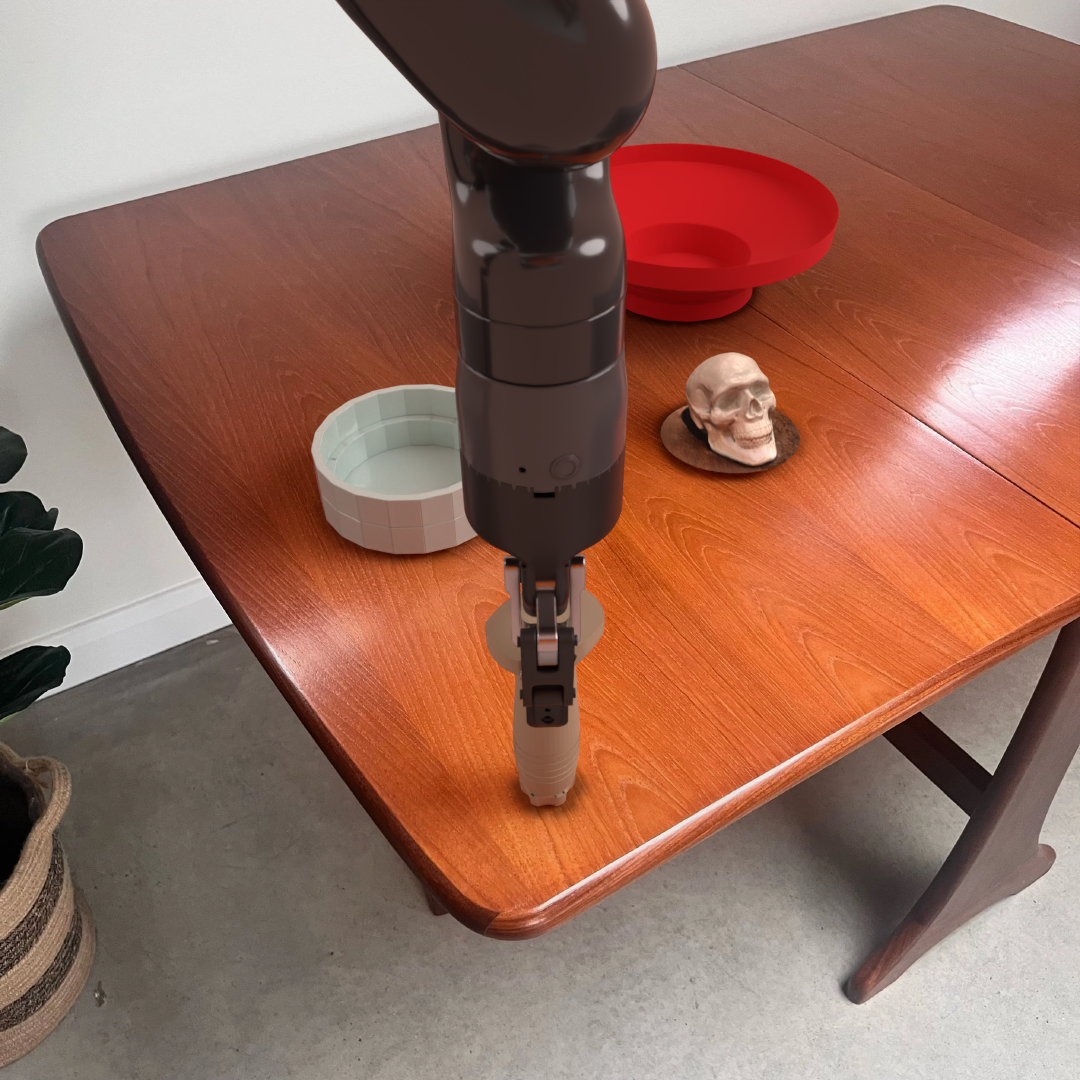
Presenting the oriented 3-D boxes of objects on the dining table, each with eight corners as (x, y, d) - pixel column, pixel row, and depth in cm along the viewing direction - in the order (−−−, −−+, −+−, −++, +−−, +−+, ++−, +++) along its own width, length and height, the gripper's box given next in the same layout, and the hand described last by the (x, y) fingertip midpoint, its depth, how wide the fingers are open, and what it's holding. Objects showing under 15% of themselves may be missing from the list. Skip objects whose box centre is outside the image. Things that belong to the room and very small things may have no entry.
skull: (837, 452, 88) (776, 393, 81) (743, 530, 91) (678, 479, 85) (774, 374, 96) (714, 315, 90) (690, 449, 100) (626, 396, 93)
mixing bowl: (311, 562, 80) (298, 502, 76) (335, 443, 92) (325, 386, 88) (510, 557, 81) (507, 497, 77) (510, 439, 92) (507, 382, 88)
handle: (483, 785, 65) (469, 616, 55) (568, 739, 68) (570, 571, 58) (524, 842, 62) (517, 675, 52) (612, 792, 64) (621, 623, 54)
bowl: (521, 352, 103) (519, 259, 96) (553, 219, 125) (553, 136, 119) (836, 368, 100) (855, 273, 93) (810, 229, 122) (825, 144, 116)
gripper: (463, 347, 52) (480, 589, 63) (451, 538, 41) (475, 789, 52) (613, 343, 52) (604, 586, 63) (641, 533, 41) (624, 785, 52)
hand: (545, 677), depth 58 cm, fingers closed on handle, 5 cm apart
